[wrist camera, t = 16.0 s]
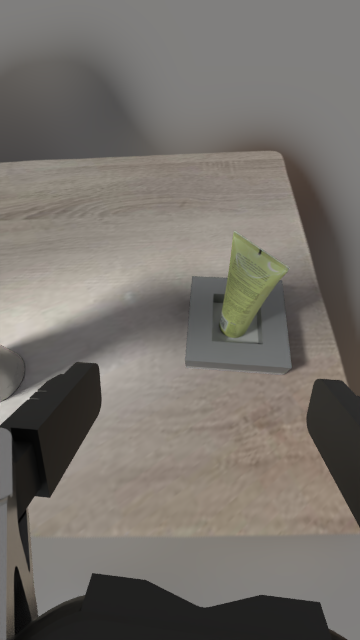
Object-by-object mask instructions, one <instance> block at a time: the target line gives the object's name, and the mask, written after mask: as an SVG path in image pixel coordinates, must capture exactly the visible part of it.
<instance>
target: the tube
mask: <svg viewBox="0 0 360 640" xmlns="http://www.w3.org/2000/svg"><path fill="white" fill-rule="evenodd" d="M289 268H290V267H288V266H286V265H285V264H283V263H282V262H280V261H279V260H277V259H276V258H274V257H273V256H271V255H270V254H268V253H267V252H265V251H264V250H262V249H261V248H259V247H258V246H256V245H255V244H253V243H252V242H250V241H249V240H247V239H246V238H245V237H243V236H242V235H240V234H239V233H237V232H236V231H234V233H233V242H232V251H231V259H230V266H229V273H228V279H227V285H226V291H225V297H224V302H223V307H222V312H221V317H220V322H219V327H220V330H221V331H222V333H223V334H225V335H226V336H228V337H231V338H238V337H241V336H242V335H244V334H245V332H246V331H247V329H248V327H249V325H250V324H251V322H252V320H253V319H254V317H255V315H256V314H257V312H258V310H259V309H260V307H261V306H262V304H263V303H264V301H265V300H266V298H267V297H268V295H269V294H270V292H271V291H272V290H273V288H274V287H275V286H276V284H277V283H278V282H279V280H280V279H281V278H282V277H283V276H284V275H285V274H286V273H287V272H288V270H289Z"/></svg>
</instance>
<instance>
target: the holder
mask: <svg viewBox="0 0 360 640" xmlns="http://www.w3.org/2000/svg"><path fill="white" fill-rule="evenodd" d="M227 279H228V278H219V277H197V276H192V284H191V296H190V308H189V320H188V332H187V344H186V356H185V364H186V368H196V369H209V370H223V371H236V372H249V373H263V374H276V375H284V374H285V373H286V372H288V371H289V370H290V369H291V368H292V366H291V357H290V348H289V339H288V330H287V321H286V312H285V302H284V293H283V284H282V280H279V282H278V283H277V284H276V286H275V287H274V288H273V290H272V291H271V292H270V294H269V295H268V297H267V298H266V300H265V301H264V303H263V304H262V306H261V307H260V309H259V310H258V312H257V314H256V315H255V317H254V319H253V320H252V322H251V324H250V325H249V327H248V329H247V331H246V332H245V334H244V335H242V336H241V337H238V338H231V337H228V336H226V335H225V334H223V333H222V331H221V330H220V327H219V322H220V317H221V312H222V307H223V302H224V297H225V291H226V285H227Z"/></svg>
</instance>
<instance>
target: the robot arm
mask: <svg viewBox="0 0 360 640" xmlns="http://www.w3.org/2000/svg"><path fill="white" fill-rule="evenodd" d="M24 370H25V367H24V362H23V360H22V358H21V357H20V356H19V355H18V354H16V353H15V352H13V351H11V350H9V349H7V348H5V347H4V346H2V345H0V402H1V401H3V400H4V399H6V398H8V397H9V396H10V395H12V394H13V393H14V392H15V390H16V389H17V388H18V387H19V385H20V383H21V381H22V379H23V376H24ZM101 401H102V398H101V386H100V373H99V366H98V364H96V363H83V362H76V363H75V364H74V365H73V366H72V367H71V368H70V369H69V370H68V371H67V372H66V373H65V374H60V375H58V376H56V377H54V378H52V379H51V380H49V381H47V382H46V383H45V384H44V385H43V386H42V387H41V388H40V389H38V392H35V393H34V394H33V395H32V396H31V397H30V399H29V400H27V401H26V402H25V403H24V404H22V405H21V406H20V407H19V408H18V409H17V410H16V411H15V412H14V413H13V414H12V415H11V416H10V417H9V418H7V419H6V420H5V421H4V422H3V423H2V424H1V425H0V640H347V639H345V638H344V637H342V636H341V635H339V634H337V633H336V632H334V631H332V630H330V629H328V626H327V623H326V620H325V617H324V614H323V610H322V607H321V604H320V602H313V601H305V600H296V599H290V598H282V597H274V596H266V595H259V596H255V597H250V598H246V599H242V600H238V601H233V602H230V603H225V604H221V605H216V606H212V607H206V608H203V607H199V606H196V605H194V604H192V603H190V602H188V601H186V600H184V599H182V598H180V597H178V596H176V595H174V594H172V593H170V592H168V591H166V590H164V589H162V588H160V587H158V586H156V585H155V584H153V583H150V582H149V581H146V580H141V579H133V578H126V577H118V576H110V575H102V574H94V573H92V576H91V579H90V582H89V586H88V589H87V592H86V595H84V596H79V597H76V598H74V599H71V600H68V601H66V602H63V603H61V604H60V605H58V606H56V607H54V608H52V609H50V610H48V611H47V612H45V613H44V614H42V615H41V616H39V617H38V609H37V602H36V596H35V589H34V580H33V565H32V553H31V552H32V551H31V537H30V523H29V512H28V505H29V504H30V502H31V501H32V499H33V498H34V496H39V497H49V498H50V497H51V495H52V493H53V492H54V490H55V488H56V486H57V485H58V483H59V481H60V480H61V478H62V476H63V474H64V473H65V471H66V469H67V468H68V466H69V464H70V463H71V461H72V459H73V457H74V456H75V454H76V452H77V451H78V449H79V447H80V445H81V444H82V442H83V440H84V439H85V437H86V435H87V433H88V432H89V430H90V428H91V427H92V425H93V423H94V421H95V420H96V418H97V416H98V414H99V412H100V408H101ZM307 428H308V431H309V434H310V436H311V438H312V439H313V441H314V443H315V445H316V447H317V449H318V451H319V452H320V454H321V456H322V458H323V460H324V462H325V464H326V466H327V467H328V469H329V471H330V473H331V475H332V477H333V479H334V480H335V482H336V484H337V486H338V488H339V490H340V492H341V493H342V495H343V497H344V499H345V501H346V503H347V505H348V506H349V508H350V510H351V512H352V514H353V516H354V518H355V519H356V521H357V523H358V525H359V527H360V397H359V396H356V395H355V394H354V393H353V392H352V391H351V390H350V389H349V387H348V386H347V385H346V384H345V383H344V382H343V381H341V380H329V379H317V380H316V381H315V382H314V385H313V389H312V394H311V398H310V403H309V407H308V412H307Z"/></svg>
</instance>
